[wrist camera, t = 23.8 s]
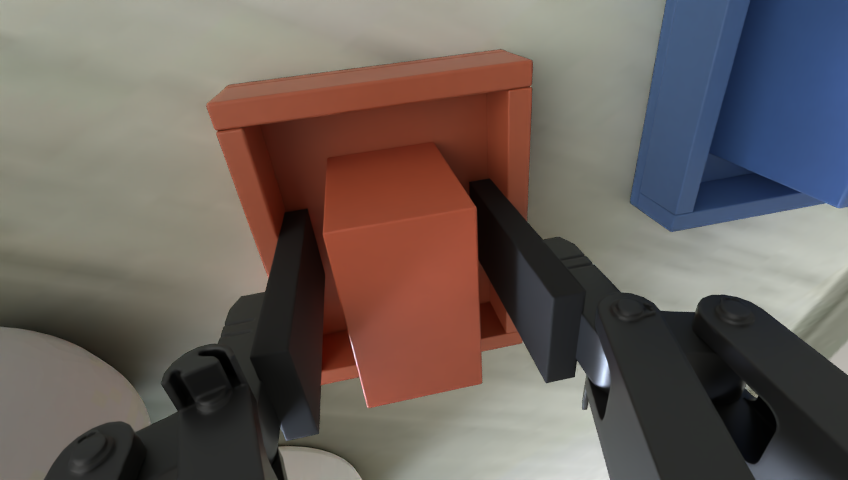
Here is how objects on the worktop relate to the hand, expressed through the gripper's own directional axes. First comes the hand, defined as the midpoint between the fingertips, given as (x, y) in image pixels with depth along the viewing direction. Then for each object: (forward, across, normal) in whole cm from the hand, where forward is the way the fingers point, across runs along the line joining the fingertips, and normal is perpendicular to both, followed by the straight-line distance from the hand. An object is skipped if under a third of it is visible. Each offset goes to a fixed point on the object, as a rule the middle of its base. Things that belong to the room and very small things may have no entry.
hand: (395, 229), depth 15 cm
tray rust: (+1, 0, 0) cm, 1 cm away
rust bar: (0, 0, 0) cm, 0 cm away
